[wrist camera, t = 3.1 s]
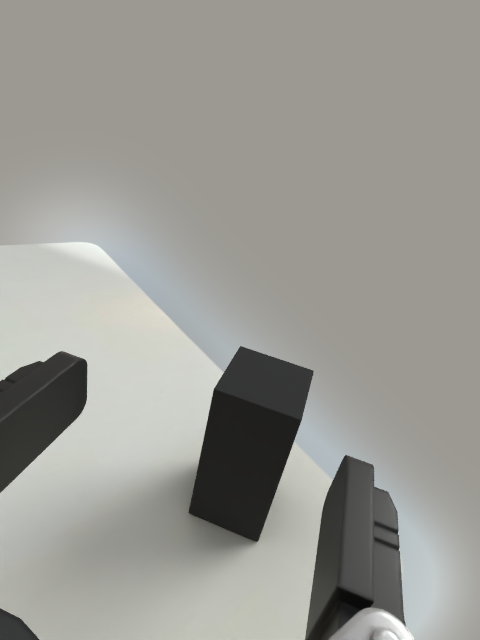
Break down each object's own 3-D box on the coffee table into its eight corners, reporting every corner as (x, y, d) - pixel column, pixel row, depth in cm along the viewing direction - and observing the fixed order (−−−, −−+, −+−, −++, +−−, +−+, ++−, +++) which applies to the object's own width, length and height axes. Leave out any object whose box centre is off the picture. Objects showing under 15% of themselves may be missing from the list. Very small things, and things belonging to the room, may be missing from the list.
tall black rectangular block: (274, 484, 31) (314, 370, 25) (257, 542, 26) (301, 420, 21) (213, 460, 32) (240, 345, 26) (188, 513, 27) (213, 388, 22)
